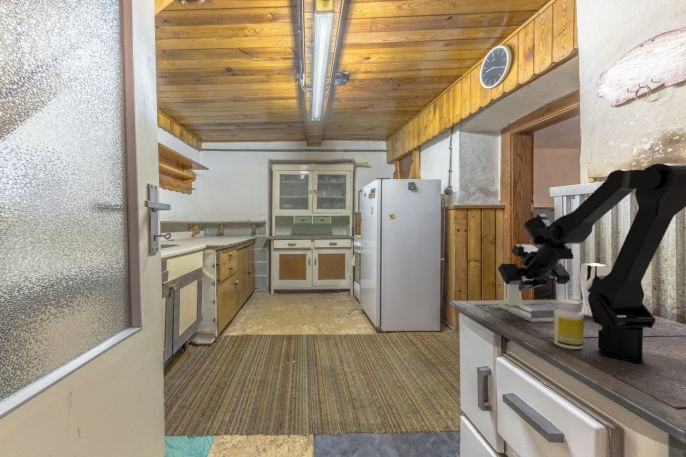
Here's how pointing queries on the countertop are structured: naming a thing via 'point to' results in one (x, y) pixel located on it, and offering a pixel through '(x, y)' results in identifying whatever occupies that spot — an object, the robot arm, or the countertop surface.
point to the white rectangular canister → (512, 295)
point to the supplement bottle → (568, 325)
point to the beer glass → (590, 281)
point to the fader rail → (529, 313)
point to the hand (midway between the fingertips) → (520, 289)
